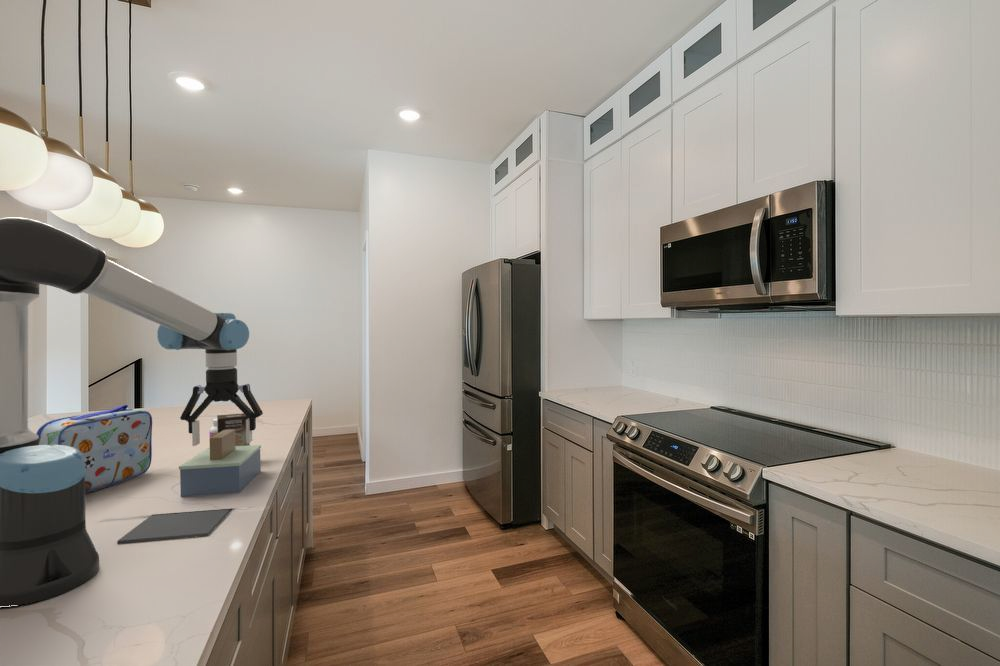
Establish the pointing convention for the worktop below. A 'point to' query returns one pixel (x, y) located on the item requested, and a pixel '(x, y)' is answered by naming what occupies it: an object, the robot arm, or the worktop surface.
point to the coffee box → (234, 426)
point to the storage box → (219, 478)
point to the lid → (221, 453)
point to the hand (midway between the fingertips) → (223, 443)
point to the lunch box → (105, 443)
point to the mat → (175, 526)
